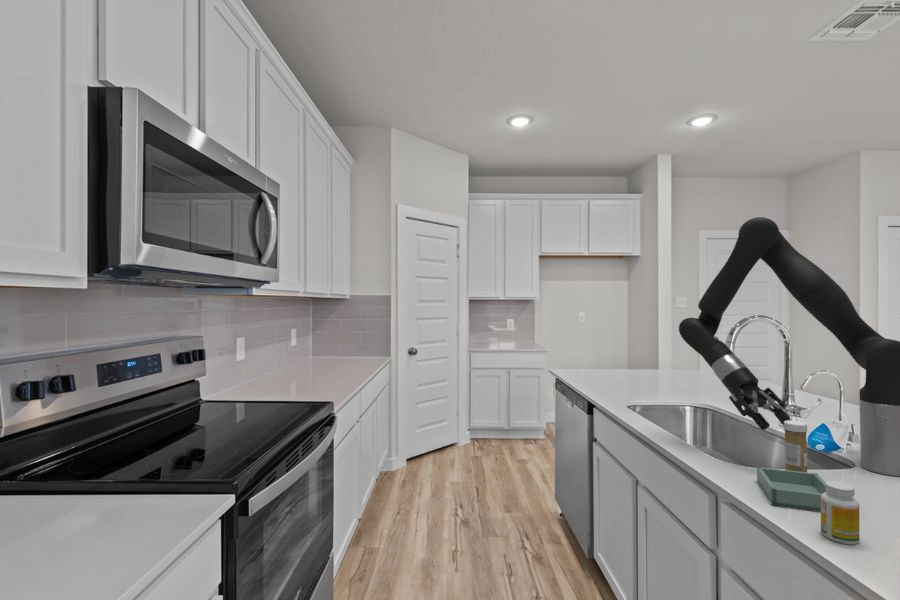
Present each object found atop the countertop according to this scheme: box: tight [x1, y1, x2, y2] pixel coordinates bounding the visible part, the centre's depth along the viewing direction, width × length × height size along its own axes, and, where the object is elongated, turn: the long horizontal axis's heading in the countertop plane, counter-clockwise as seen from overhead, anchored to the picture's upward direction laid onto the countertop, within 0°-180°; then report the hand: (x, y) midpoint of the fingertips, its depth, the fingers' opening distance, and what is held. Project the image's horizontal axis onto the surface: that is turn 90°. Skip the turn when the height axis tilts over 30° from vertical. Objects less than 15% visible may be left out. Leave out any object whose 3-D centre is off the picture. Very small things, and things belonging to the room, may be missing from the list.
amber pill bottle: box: [783, 419, 808, 473], centre depth 111 cm, size 5×5×14 cm
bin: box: [756, 466, 827, 513], centre depth 100 cm, size 14×12×4 cm
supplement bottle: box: [820, 480, 861, 546], centre depth 82 cm, size 5×5×10 cm
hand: (777, 426), depth 114 cm, fingers open, 8 cm apart
